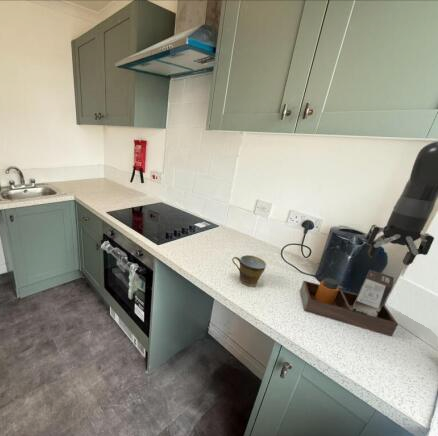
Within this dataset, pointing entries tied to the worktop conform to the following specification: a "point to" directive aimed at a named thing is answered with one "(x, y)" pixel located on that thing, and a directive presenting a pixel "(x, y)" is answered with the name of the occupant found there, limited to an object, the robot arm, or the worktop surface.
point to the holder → (346, 310)
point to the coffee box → (373, 293)
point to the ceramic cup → (250, 269)
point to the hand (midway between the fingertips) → (387, 260)
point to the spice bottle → (327, 291)
